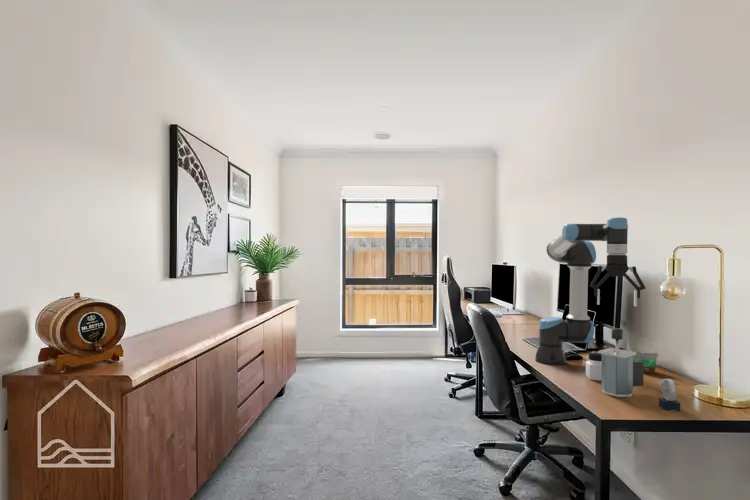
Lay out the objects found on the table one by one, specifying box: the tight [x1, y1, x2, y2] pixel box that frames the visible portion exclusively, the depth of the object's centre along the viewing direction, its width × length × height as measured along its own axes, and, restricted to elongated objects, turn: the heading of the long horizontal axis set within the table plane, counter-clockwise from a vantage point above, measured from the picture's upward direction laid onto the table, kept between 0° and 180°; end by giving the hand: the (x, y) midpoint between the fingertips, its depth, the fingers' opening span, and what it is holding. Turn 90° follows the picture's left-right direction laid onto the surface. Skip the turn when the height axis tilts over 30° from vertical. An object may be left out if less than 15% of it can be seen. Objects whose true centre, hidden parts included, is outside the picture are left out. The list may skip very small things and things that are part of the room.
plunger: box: [611, 327, 624, 352], centre depth 182 cm, size 9×9×23 cm
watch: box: [658, 378, 681, 412], centre depth 165 cm, size 6×8×11 cm
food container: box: [630, 349, 659, 375], centre depth 214 cm, size 12×6×10 cm, turn 73°
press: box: [597, 347, 645, 399], centre depth 183 cm, size 16×12×17 cm
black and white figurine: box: [585, 351, 602, 382], centre depth 203 cm, size 7×7×12 cm
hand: (616, 305), depth 183 cm, fingers open, 13 cm apart
